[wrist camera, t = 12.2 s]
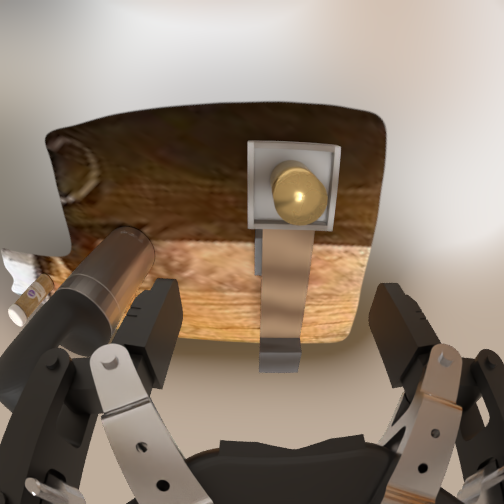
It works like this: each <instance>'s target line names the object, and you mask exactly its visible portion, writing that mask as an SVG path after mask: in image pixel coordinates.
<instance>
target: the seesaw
mask: <svg viewBox="0 0 504 504" xmlns="http://www.w3.org/2000/svg"><path fill="white" fill-rule="evenodd" d="M340 153H341V147H340V146H337V145H331V144H320V143H305V142H286V141H248V229H263V241H262V283H261V320H260V353H259V354H260V355H259V372H265V373H268V372H269V373H275V372H276V373H285V372H286V373H287V372H288V373H290V372H298V367H299V362H300V358H301V344H300V333H301V327H302V321H303V315H304V309H305V302H306V295H307V288H308V281H309V274H310V266H311V258H312V250H313V242H314V233H315V230H319V231H332V229H333V222H334V214H335V205H336V196H337V187H338V177H339V165H340ZM287 160H295V161H299V162H301V163H303V164H304V165H305V166H306V167H307V168H308V169H309V170H310V171H311V172H312V173H313V174H314V175H315V176H316V177H317V178H318V179H319V181H320V182H321V183H322V184H323V185H324V187H325V189H326V192H327V197H328V201H327V206H326V209H325V211H324V213H323V214H322V215H321V217H320V218H319V219H317V220H316V221H315V222H313V223H310V224H307V225H301V226H298V225H292V224H290V223H288V222H286V221H284V220H283V219H282V218H281V217H280V216H279V215H278V213H277V211H276V209H275V206H274V200H273V195H272V190H271V185H270V176H271V173H272V171H273V169H274V168H275V167H276V166H277V165H278V164H279V163H281V162H283V161H287Z"/></svg>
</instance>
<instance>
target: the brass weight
mask: <svg viewBox="0 0 504 504" xmlns="http://www.w3.org/2000/svg"><path fill="white" fill-rule="evenodd" d="M270 185H271V190H272V195H273V200H274V206H275V209H276V211H277V213H278V215H279V216H280V217H281V218H282V219H283V220H284V221H286V222H288V223H290V224H292V225H298V226H301V225H307V224H310V223H313V222H315V221H316V220H317V219H319V218H320V217H321V215H322V214H323V213H324V211H325V209H326V206H327V201H328V197H327V192H326V189H325V187H324V185H323V184H322V183H321V182H320V181H319V179H318V178H317V177H316V176H315V175H314V174H313V173H312V172H311V171H310V170H309V169H308V168H307V167H306V166H305V165H304V164H303V163H301V162H299V161H295V160H287V161H283V162H281V163H279V164H278V165H277V166H276V167H275V168H274V169H273V171H272V173H271V176H270Z"/></svg>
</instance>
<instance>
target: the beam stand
mask: <svg viewBox="0 0 504 504" xmlns="http://www.w3.org/2000/svg"><path fill="white" fill-rule="evenodd" d="M262 241H263V229H256V230H255V275H262Z"/></svg>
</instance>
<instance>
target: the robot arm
mask: <svg viewBox="0 0 504 504" xmlns="http://www.w3.org/2000/svg"><path fill="white" fill-rule="evenodd" d="M154 259H155V253H154V249H153V246H152V244H151V242H150V241H149V239H148V238H147V237H146V236H145V235H144V234H143V233H142V232H140V231H139V230H137V229H135V228H132V227H120V228H117V229H115V230H114V231H113V232H112V233H111V234H110V235H109V236H108V237H107V238H106V239H104V240H103V241H102V242H101V243H100V244H99V245H98V246H97V247H96V248H95V249H94V250H93V251H92V252H91V253H90V254H89V255H88V257H87V258H86V259H85V260H84V261H83V262H82V263H81V264H80V265H79V266H78V267H77V268H76V269H75V270H74V271H73V273H72V274H71V275H70V276H69V277H68V278H67V279H66V280H65V282H64V283H63V284H62V285H61V286H60V287H59V288H58V290H57V291H56V292H55V293H54V294H53V295H52V297H51V298H50V299H49V300H48V301H47V302H46V303H45V304H44V305H43V306H42V307H41V308H40V309H39V311H38V312H37V313H36V314H35V315H34V316H33V318H32V319H31V320H30V321H29V323H28V324H27V325H26V326H25V327H24V329H23V330H22V331H21V332H20V334H19V335H18V336H17V337H16V338H15V339H14V341H13V342H12V343H11V344H10V345H9V347H8V348H7V349H6V350H5V352H4V353H3V354H2V356H1V357H0V402H1V403H2V404H4V406H5V407H7V408H8V409H9V410H10V411H11V412H12V416H11V418H10V420H9V423H8V425H7V428H6V431H5V433H4V436H3V439H2V441H1V444H0V504H86V501H85V499H84V497H83V495H82V494H81V492H80V491H79V485H80V481H81V477H82V472H83V468H84V464H85V459H86V456H87V451H88V448H89V444H90V441H91V437H92V433H93V430H94V427H95V423H96V420H97V417H98V414H99V413H104V415H102V416H101V420H102V424H103V427H104V429H105V432H106V435H107V437H108V440H109V442H110V445H111V447H112V450H113V452H114V455H115V457H116V459H117V462H118V464H119V466H120V468H121V470H122V473H123V474H124V477H125V479H126V481H127V483H128V485H129V487H130V489H131V491H132V492H133V494H134V496H135V498H134V499H133V500H131V501H130V502H128V503H127V504H504V364H503V362H502V360H501V359H500V357H499V356H498V355H497V354H496V353H495V352H493V351H492V350H489V349H483V350H481V351H480V352H479V354H478V355H477V357H476V358H475V359H471V358H462V357H461V356H460V354H459V352H458V351H457V350H456V349H455V348H453V347H452V346H450V345H447V344H441V342H440V340H439V339H438V337H437V336H436V333H435V332H434V330H433V328H432V327H431V325H430V323H429V322H428V320H426V317H425V315H424V313H422V310H421V309H420V307H419V306H418V304H417V302H416V301H415V300H413V299H412V298H411V297H410V296H409V295H405V293H404V292H403V290H402V289H401V287H400V285H399V284H398V283H380V284H379V286H378V287H377V291H376V294H375V297H374V300H373V303H372V306H371V309H370V312H369V326H370V329H371V332H372V334H373V337H374V339H375V342H376V344H377V347H378V349H379V352H380V355H381V357H382V360H383V363H384V365H385V368H386V371H387V374H388V376H389V379H390V382H391V385H392V388H397V387H402V386H403V388H404V390H405V391H404V392H403V393H402V395H401V397H400V400H399V403H398V405H397V407H396V410H395V412H394V414H393V416H392V419H391V421H390V423H389V425H388V428H387V430H386V432H385V433H384V435H383V436H382V438H381V439H380V440H379V442H378V443H377V444H374V443H368V442H365V440H364V436H363V434H361V435H355V436H348V437H341V438H332V439H328V440H325V441H323V442H320V443H317V444H313V445H310V446H307V447H303V448H300V449H287V448H282V447H277V446H272V445H267V444H263V443H259V442H240V441H239V442H237V441H224V440H221V441H220V447H219V448H216V449H211V450H207V451H203V452H200V453H198V454H195V455H193V456H191V457H189V458H187V459H185V457H184V456H183V454H182V452H181V451H180V449H179V448H178V446H177V445H176V443H175V441H174V440H173V438H172V436H171V435H170V433H169V431H168V430H167V428H166V426H165V424H164V423H163V421H162V419H161V417H160V415H159V413H158V411H157V410H156V408H155V406H154V404H153V402H152V400H151V398H150V394H151V391H152V388H157V389H162V388H163V385H164V381H165V378H166V374H167V370H168V367H169V364H170V360H171V357H172V354H173V351H174V347H175V344H176V341H177V338H178V335H179V331H180V328H181V325H182V320H183V310H182V304H181V298H180V293H179V287H178V282H177V280H176V279H163V278H158V279H156V281H155V283H154V285H153V287H152V288H151V290H144V291H143V292H142V293H141V294H139V295H138V296H137V297H136V298H135V300H134V301H133V303H132V305H131V308H130V309H129V310H128V312H127V314H126V315H127V316H125V318H124V320H123V322H122V323H121V325H120V327H119V329H118V331H117V333H116V335H115V337H114V339H113V341H112V343H111V344H108V342H109V340H110V338H111V336H112V335H113V333H114V331H115V329H116V327H117V325H118V323H119V321H120V320H121V318H122V316H123V314H124V313H125V311H126V309H127V307H128V306H129V304H130V302H131V300H132V299H133V297H134V295H135V294H136V292H137V290H138V288H139V287H140V285H141V283H142V282H143V280H144V279H145V277H146V275H147V274H148V272H149V271H150V269H151V267H152V266H153V263H154ZM59 345H61V346H63V347H64V348H66V349H68V350H69V351H71V352H73V353H76V354H78V355H82V356H87V358H73V359H71V358H70V357H69V355H68V353H67V352H66V351H65V350H64V349H61V348H58V346H59ZM481 397H483V399H484V402H485V404H486V407H487V409H488V412H489V416H490V419H489V423H488V425H487V426H486V427H485V426H484V423H483V420H482V417H481V415H480V412H479V409H478V406H477V404H476V402H477V401H478V400H479V399H480V398H481ZM454 444H456V447H457V452H458V456H459V460H460V464H461V469H462V473H463V479H464V484H463V487H462V489H461V490H460V491H459V492H458V494H457V498H456V497H455V496H453V495H452V494H450V493H449V492H447V491H446V490H444V489H443V488H441V487H440V486H441V483H442V481H443V479H444V476H445V473H446V470H447V467H448V464H449V461H450V458H451V455H452V451H453V448H454Z"/></svg>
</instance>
